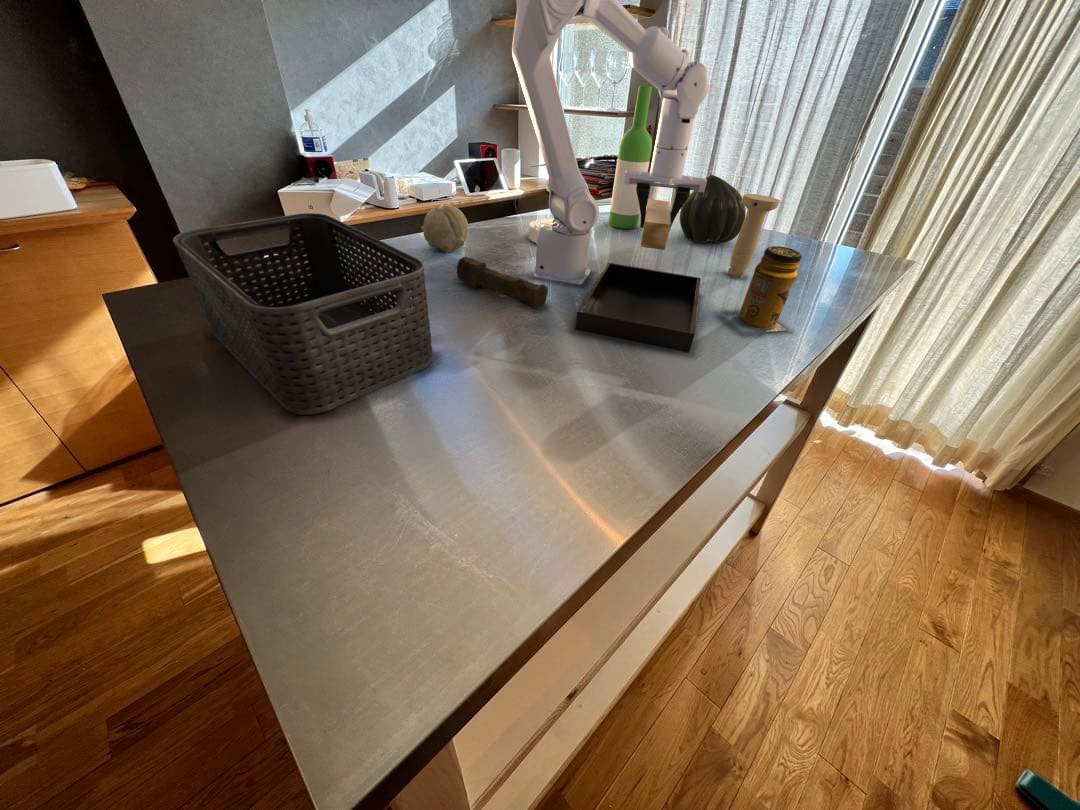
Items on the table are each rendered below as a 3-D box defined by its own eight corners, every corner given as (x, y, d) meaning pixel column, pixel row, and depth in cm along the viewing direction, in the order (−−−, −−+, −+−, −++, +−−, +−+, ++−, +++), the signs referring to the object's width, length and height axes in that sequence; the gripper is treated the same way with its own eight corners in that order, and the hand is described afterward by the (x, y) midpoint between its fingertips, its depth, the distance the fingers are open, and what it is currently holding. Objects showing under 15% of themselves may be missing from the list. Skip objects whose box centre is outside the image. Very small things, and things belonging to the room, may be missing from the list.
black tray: (574, 331, 68) (577, 311, 66) (605, 279, 86) (607, 262, 84) (688, 354, 64) (694, 334, 62) (695, 295, 82) (700, 277, 80)
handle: (746, 283, 88) (774, 203, 79) (715, 274, 91) (739, 196, 82) (755, 277, 91) (783, 199, 82) (725, 268, 94) (749, 192, 85)
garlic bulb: (467, 259, 97) (482, 216, 91) (440, 263, 90) (454, 217, 84) (437, 237, 99) (449, 193, 93) (409, 239, 92) (420, 192, 87)
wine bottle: (607, 228, 114) (627, 85, 96) (608, 220, 120) (628, 84, 102) (637, 231, 113) (664, 87, 95) (637, 223, 119) (662, 86, 101)
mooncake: (532, 229, 109) (533, 214, 107) (580, 234, 108) (582, 219, 106) (524, 244, 100) (525, 228, 98) (577, 249, 99) (579, 233, 97)
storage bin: (445, 361, 59) (435, 263, 51) (300, 426, 47) (258, 312, 39) (338, 294, 74) (317, 209, 66) (207, 331, 62) (163, 233, 54)
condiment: (786, 331, 72) (818, 258, 65) (741, 334, 70) (769, 259, 63) (759, 311, 78) (786, 242, 70) (717, 313, 76) (740, 243, 69)
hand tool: (548, 305, 75) (550, 278, 72) (534, 312, 72) (536, 285, 70) (468, 276, 84) (467, 251, 81) (453, 281, 81) (451, 256, 78)
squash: (756, 230, 99) (755, 166, 100) (689, 229, 99) (689, 165, 101) (729, 256, 114) (728, 200, 115) (671, 255, 114) (671, 199, 115)
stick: (640, 247, 80) (645, 221, 77) (644, 221, 94) (648, 198, 91) (665, 250, 79) (670, 224, 76) (665, 223, 93) (669, 201, 90)
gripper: (628, 146, 75) (615, 229, 83) (715, 154, 73) (694, 238, 81) (630, 141, 81) (618, 219, 89) (712, 149, 79) (692, 228, 87)
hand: (654, 228), depth 86 cm, fingers closed on stick, 4 cm apart
